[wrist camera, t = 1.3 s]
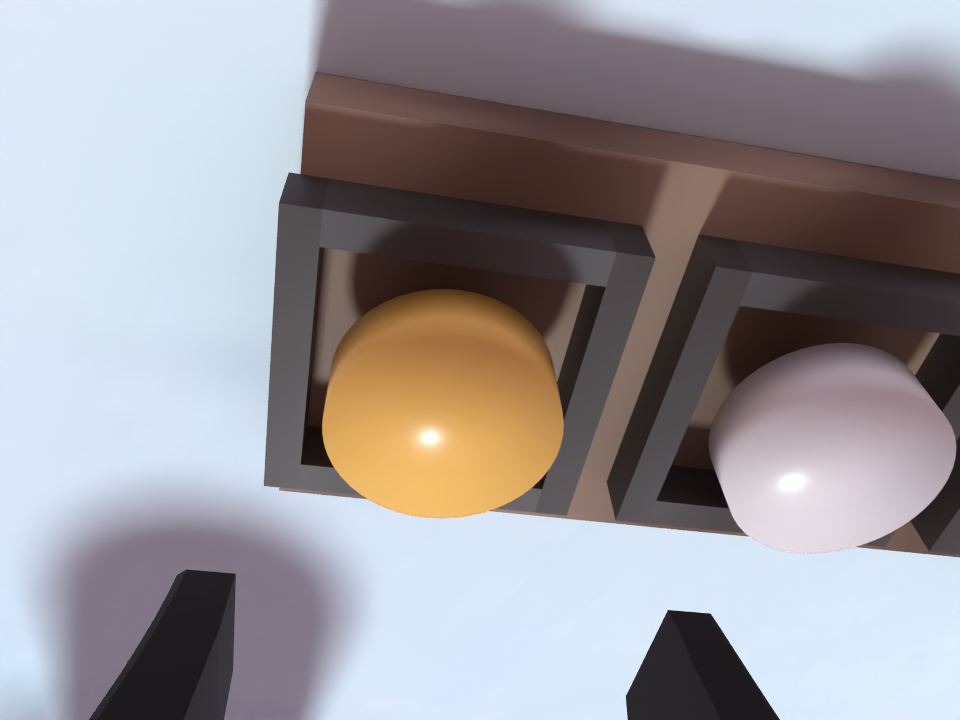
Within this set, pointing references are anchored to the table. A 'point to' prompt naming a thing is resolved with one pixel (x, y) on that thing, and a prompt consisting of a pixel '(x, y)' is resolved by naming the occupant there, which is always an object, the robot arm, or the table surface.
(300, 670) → the table surface
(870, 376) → the pale pink button
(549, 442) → the amber button
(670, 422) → the button panel
